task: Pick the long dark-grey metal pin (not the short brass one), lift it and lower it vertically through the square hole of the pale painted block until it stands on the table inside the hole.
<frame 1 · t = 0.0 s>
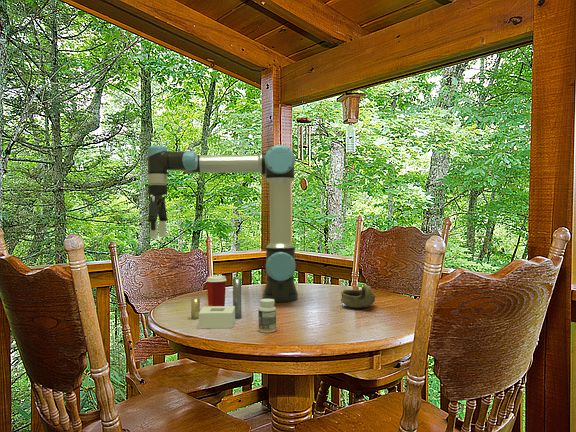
hand: (158, 237, 184), 28 cm above the table, fingers open, 13 cm apart
paper cup: (216, 314, 171), on the table
long pin: (237, 317, 165), on the table
hole block: (217, 324, 156), on the table
short pin: (195, 318, 164), on the table
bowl: (359, 308, 180), on the table
pill bottle: (267, 331, 147), on the table
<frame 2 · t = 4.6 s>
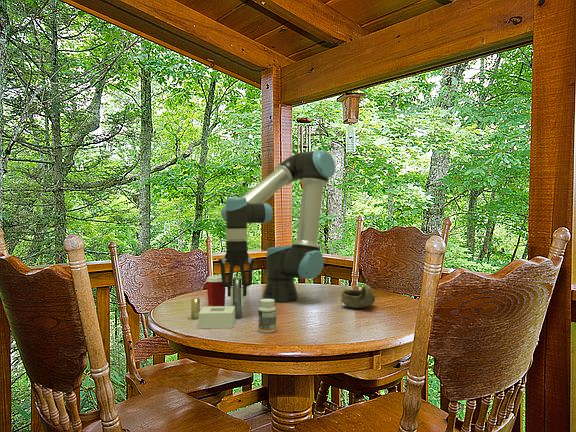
hand: (237, 305, 165), 5 cm above the table, fingers closed on long pin, 3 cm apart
long pin: (237, 317, 165), on the table, touching gripper
everything else where it was.
when the fingers open (6 cm above the table, at t = 10.0 s): long pin stays where it is, resting in hole block.
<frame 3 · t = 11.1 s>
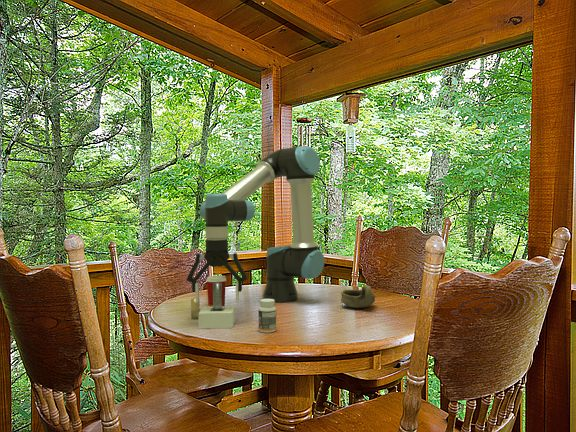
hand: (217, 301, 156), 8 cm above the table, fingers open, 13 cm apart
long pin: (217, 324, 156), resting in hole block
everything else where it was.
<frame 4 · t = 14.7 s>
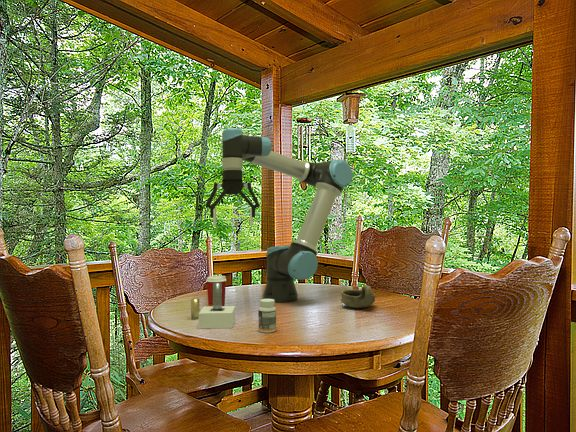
hand: (233, 226, 172), 33 cm above the table, fingers open, 13 cm apart
nothing on the table moved.
at the end: long pin 0.0 cm off-centre on the hole block, point 0.0 cm above the hole block's base; long pin tilted 0°; short pin moved 0.0 cm from its start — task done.
